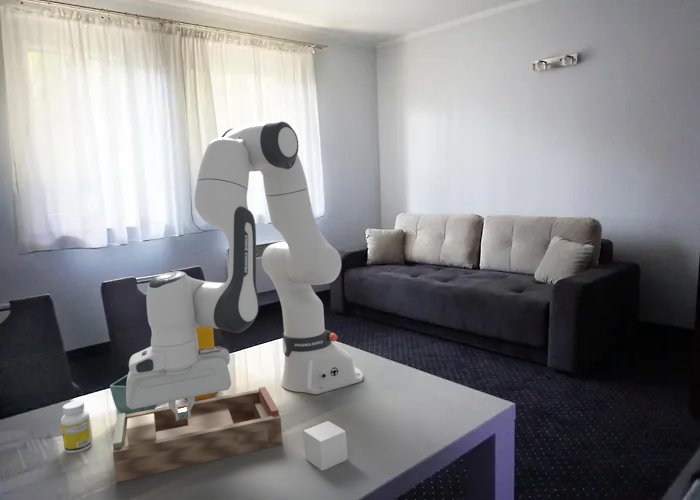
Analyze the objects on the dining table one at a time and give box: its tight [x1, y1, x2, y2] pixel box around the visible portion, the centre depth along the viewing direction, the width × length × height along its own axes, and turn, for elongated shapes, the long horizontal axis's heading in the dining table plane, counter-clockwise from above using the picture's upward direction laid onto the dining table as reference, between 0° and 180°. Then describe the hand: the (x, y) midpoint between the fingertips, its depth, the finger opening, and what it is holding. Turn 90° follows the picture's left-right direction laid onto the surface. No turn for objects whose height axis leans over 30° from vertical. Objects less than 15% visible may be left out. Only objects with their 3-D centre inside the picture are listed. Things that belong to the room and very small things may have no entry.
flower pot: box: [109, 374, 158, 414], centre depth 125 cm, size 9×9×9 cm
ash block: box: [127, 413, 156, 446], centre depth 101 cm, size 5×5×5 cm
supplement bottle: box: [60, 400, 93, 454], centre depth 109 cm, size 5×5×10 cm
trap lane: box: [112, 386, 283, 483], centre depth 109 cm, size 32×17×7 cm, turn 111°
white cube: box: [303, 420, 348, 472], centre depth 100 cm, size 6×6×6 cm
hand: (183, 418), depth 104 cm, fingers closed
